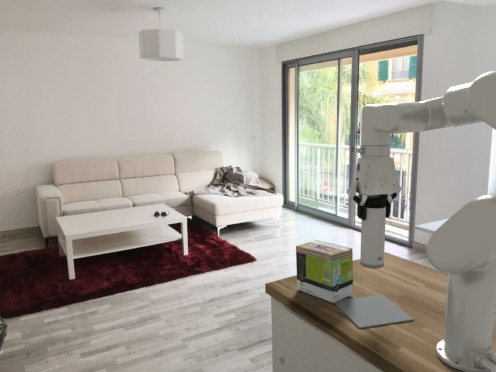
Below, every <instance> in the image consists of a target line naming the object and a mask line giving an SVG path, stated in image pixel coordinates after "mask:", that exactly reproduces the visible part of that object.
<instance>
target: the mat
mask: <svg viewBox="0 0 496 372" xmlns="http://www.w3.org/2000/svg"><path fill="white" fill-rule="evenodd" d="M333 304H334V305H335V306H336V307H337V308H339V310H340V311H341V312H342V314H344V315H345V316H346V317H347V318H348V319H349V320H350V321H351V322H352V324H354V325H355V326H356V327H357V328H358V329H360V330H361V329H367V328H368V329H369V328H374V327H375V328H376V327H380V326H386V325H387V326H388V325H392V324H393V325H394V324H399V323H407V322H411V321H412V322H414V320H415V319H414V317H412V316H411V315H410V314H408V313H407V312H406V311H404V310H403V309H402V308H400V307H399V306H398V305H396V304H395V303H394V302H393V301H391V300H390V299H389V298H387V296H385V295H384V294H375V295H368V296H362V297H353V298H344V299H341V300H339V301H337V302H334V303H333Z"/></svg>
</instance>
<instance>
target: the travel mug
mask: <svg viewBox="0 0 496 372" xmlns="http://www.w3.org/2000/svg"><path fill="white" fill-rule="evenodd" d="M386 197H388V195H387V196H386V195H375V196H367V199H366V201H365V204H364V205H365V206H366V220H362V219H360V221H361V222H360V224H361V225H360V229H361V230H360V254H359V255H360V261H359V265H361V267H363V268H366V269H373V270H375V269H376V270H378V269H382V268H383V267H384V266H385V246H386V245H385V242H386V221H387V220H386V219H387V218H386V204H385V203H386Z"/></svg>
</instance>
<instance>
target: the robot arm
mask: <svg viewBox="0 0 496 372" xmlns="http://www.w3.org/2000/svg"><path fill="white" fill-rule="evenodd" d="M360 120H361V121H360V123H361V124H360V127H361V128H360V130H361V131H360V145H359V148H356V149H355V150H356V151H355V153H356V154H359V155H360V156H359V157H357V162H356V166H355V173H354V175H355V176H354V182H353V184H352V185H351V186H350V187H348V189H347V190H346V194H347V195H348V196H349V197H350V198H351V199H352V201H354V202H355V203H356V205H357V206H356V207H357V208H356V209H357V210H356V214H357V218H358V219H360V220H361V219H362V220H366V206H365V205H364V204H365V201H366V199H367V196H375V195H386V196H387V195H388V197H386V203H385V204H386V219H389V218H390V217H391V216H390V215H391V207H392V203H393V202H394V200H395V198H396V197H397V196H398V194H399V193H400V192H401V191H402V189H403V187H401V186H400V184H398V183H397V174H396V171H397V170H396V164H395V159H394V156H392V155H391V148H392V147H391V144H392V143H391V140H392V134H393V135H398V134H406V133H407V134H408V133H409V134H410V133H420V132H426V131H433V130H439V129H445V128H450V127H454V128H456V127H457V128H458V127H460V126H467V125H473V124H477V123H485V124H486V125H488V126H489V127H491V128H492V129H493V130H495V131H496V70H493V71H488V72H486V73H483V74H481V75H479V76H478V77H476V78H475V79H474V80H473V81H471V82H469V83H464V84H460V85H455V86H451V87H449V88H448V89H447V90H446V92H444V95H443V96H441V97H439V96H438V97H436V98H431V99H427V100H423V101H405V102H404V101H401V102H400V101H397V102H396V101H395V102H389V103H388V102H387V103H377V104H374V103H373V104H371V103H370V104H366V105H365V104H364V105H363V107H362V108H361V119H360ZM355 192H356V193H357V194H358V195H357V194H356V193H355ZM426 256H427V259H428V261H429V263H430V265H431V266H432V267H433V268H434V269H436V270H437V271H439V272H440V273H443V274H446V275H448V277H447V285H446V300H445V301H446V302H445V319H444V332H443V334H444V336H443V337H444V338H443V339H442V340H440V341H439V342H437V344H436V348H435V352H436V355H437V357H438V358H439V359H440V360H441V361H442V362H444V364H446V365H448V366H450V367H452V368H454V369H456V370H460V371H462V372H496V348H495V347H494V346H493V334H494V325H495V324H494V323H495V313H496V312H495V310H496V191H495V192H492V193H491V192H490V193H487V194H483V195H480V196H478V197H474V198H473V199H472V200H470V201H468V202H467V203H466V204H464V205H463V206H462V207H460V209H458V210H457V211H456V212H455V213H453V214H452V215H451V216H450V217H449V218H448V219H447V220H445V222H443V223H442V224H441V225H440V226H439V227H438V228H437V229H436V230H434V232H433V233H432V234H431V236H430V237H429V238H428V241H427V242H426Z"/></svg>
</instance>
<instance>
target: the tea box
mask: <svg viewBox="0 0 496 372" xmlns="http://www.w3.org/2000/svg"><path fill="white" fill-rule="evenodd" d="M353 256H354V255H353V248H352V247H348V246H343V245H339V244H334V243H331V242H326V241H322V240H318V239H315V240H312V241H308V242H304V243H302V244H299V245H296V246H295V260H296V261H295V262H296V263H295V265H296V288H297V291H301V292H304V293H307V294H309V295H311V296H314V297H317V298H319V299H322V300H325V301H327V302H330V303H331V304H334V302H337V301H339V300H344V299H347V298H349V297H350V296H352V295H353V294H354V273H353V272H354V266H353Z"/></svg>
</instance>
